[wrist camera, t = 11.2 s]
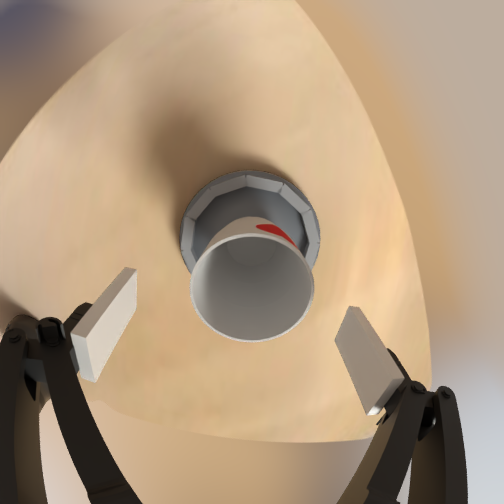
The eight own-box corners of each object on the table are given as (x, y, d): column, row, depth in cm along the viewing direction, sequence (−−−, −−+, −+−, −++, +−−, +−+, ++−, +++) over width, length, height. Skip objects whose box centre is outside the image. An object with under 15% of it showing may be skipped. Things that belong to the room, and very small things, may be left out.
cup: (306, 256, 27) (333, 309, 18) (238, 293, 29) (233, 357, 20) (265, 186, 25) (275, 208, 16) (193, 230, 26) (165, 274, 17)
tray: (175, 285, 30) (171, 295, 28) (193, 158, 25) (188, 158, 23) (297, 307, 31) (300, 318, 29) (332, 188, 26) (339, 191, 24)
